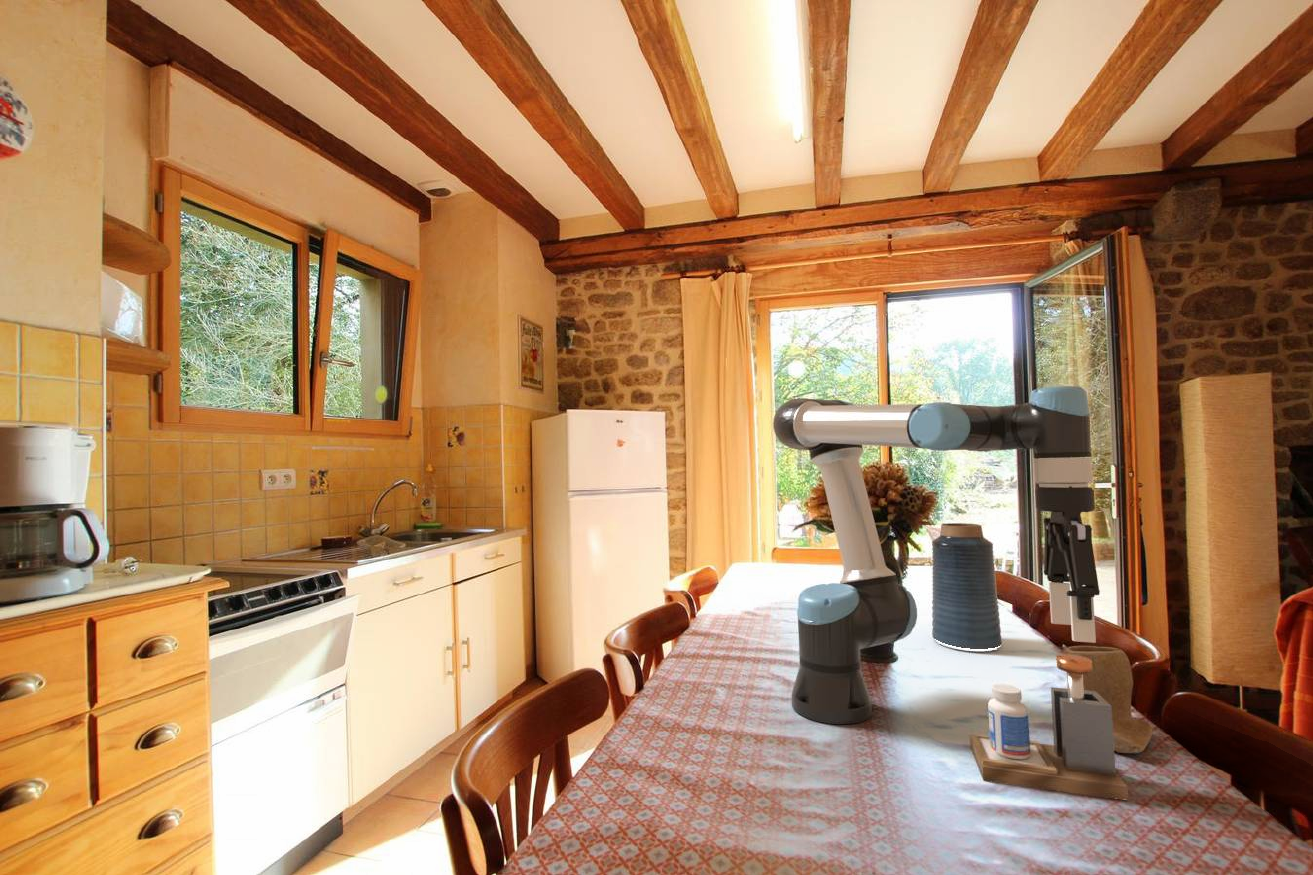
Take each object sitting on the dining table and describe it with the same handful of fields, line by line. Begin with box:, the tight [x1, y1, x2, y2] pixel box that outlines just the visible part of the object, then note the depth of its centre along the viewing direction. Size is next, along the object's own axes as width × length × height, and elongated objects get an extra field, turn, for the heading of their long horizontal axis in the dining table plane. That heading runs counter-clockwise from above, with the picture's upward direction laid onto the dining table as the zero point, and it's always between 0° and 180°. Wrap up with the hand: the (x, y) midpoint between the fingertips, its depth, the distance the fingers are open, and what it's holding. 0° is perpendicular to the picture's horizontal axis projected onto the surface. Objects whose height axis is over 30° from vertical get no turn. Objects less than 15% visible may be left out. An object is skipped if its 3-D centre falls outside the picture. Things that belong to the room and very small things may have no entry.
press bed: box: [969, 732, 1129, 801], centre depth 89 cm, size 18×11×3 cm, turn 70°
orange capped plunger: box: [1055, 653, 1092, 700], centre depth 88 cm, size 4×4×12 cm
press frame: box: [1050, 686, 1117, 777], centre depth 88 cm, size 6×6×10 cm
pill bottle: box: [987, 683, 1031, 759], centre depth 91 cm, size 6×5×10 cm
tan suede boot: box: [1063, 645, 1154, 754], centre depth 101 cm, size 15×12×15 cm
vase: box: [931, 522, 1003, 649], centre depth 155 cm, size 16×16×32 cm
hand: (1072, 631), depth 89 cm, fingers open, 9 cm apart
